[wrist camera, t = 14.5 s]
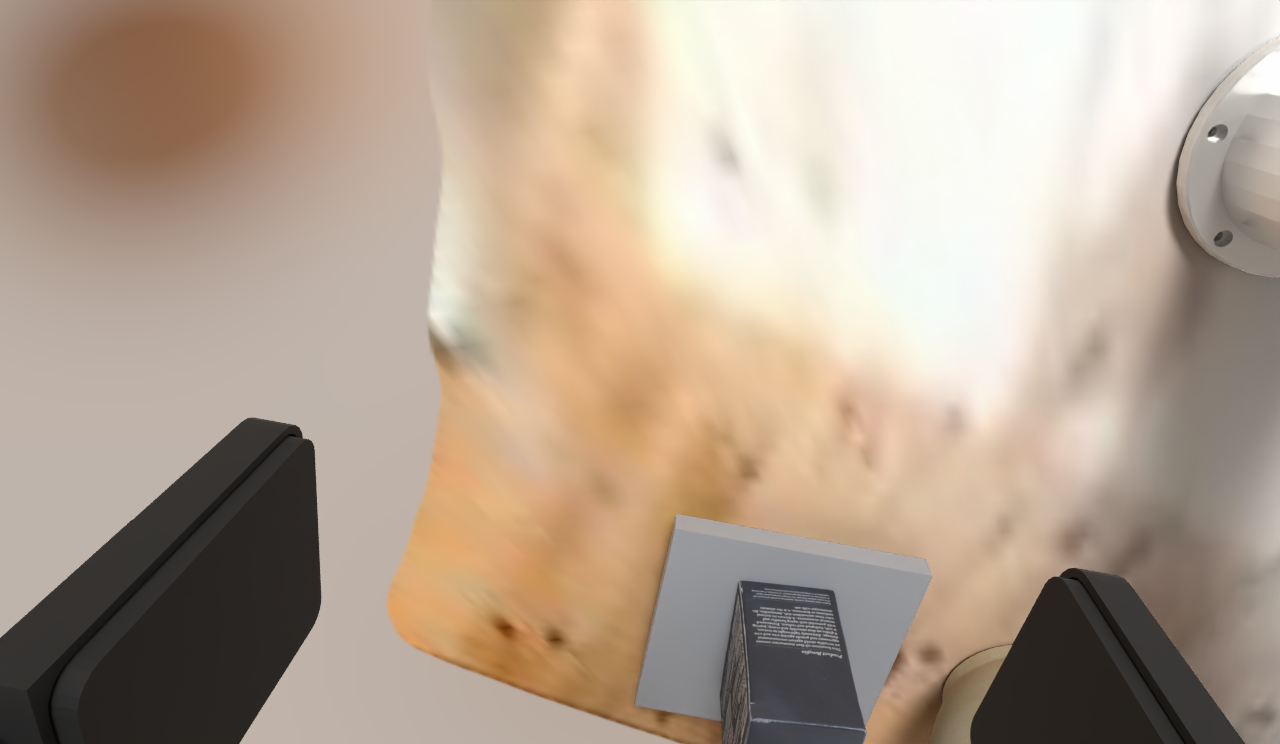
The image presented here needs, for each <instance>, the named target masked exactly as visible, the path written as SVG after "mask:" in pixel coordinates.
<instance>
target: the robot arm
mask: <svg viewBox="0 0 1280 744" xmlns="http://www.w3.org/2000/svg"><path fill="white" fill-rule="evenodd" d="M1211 128H1212V130H1211ZM1210 130H1211V132H1210V133H1209V131H1210ZM1208 133H1209V134H1208ZM1176 184H1177V196H1178V206H1179V209H1180V212H1181V215H1182V218H1183V221H1184V224H1185V226H1186V228H1187V229H1188V231H1189V232H1190V234H1191V235H1192V237H1193V239H1194V240H1195V242H1197V243H1198V244H1199V245H1200V246H1201V247H1202V248H1203V249H1204V250H1205V251H1206V252H1207V253H1208V254H1210V255H1211V256H1213V257H1215V258H1216V259H1218V260H1220V261H1222V262H1223V263H1225V264H1227V265H1229V266H1231V267H1234V268H1236V269H1239V270H1241V271H1244V272H1246V273H1249V274H1255V275H1260V276H1266V277H1280V36H1279V37H1277V38H1275V39H1273V40H1272V41H1270V42H1268V43H1266V44H1265V45H1264V46H1262V47H1261V48H1260V49H1259V50H1257V51H1256V52H1255V53H1253V54H1252V55H1251V56H1249V57H1248V58H1247V59H1246V60H1244V61H1243V62H1242V63H1240V65H1239V66H1238V67H1237V68H1236V69H1235V70H1234V71H1233V72H1232V73H1231V74H1230V75H1229V76H1228V77H1227V78H1226V79H1225V80H1224V81H1223V82H1222V83H1221V84H1220V85H1219V86H1218V87H1217V89H1216V90H1215V91H1214V93H1213V94H1212V95H1211V97H1210V98H1209V99H1208V101H1207V102H1206V103H1205V105H1204V106H1203V107H1202V109H1201V110H1200V112H1199V114H1198V116H1197V118H1196V120H1195V122H1194V124H1193V126H1192V127H1191V129H1190V131H1189V133H1188V135H1187V138H1186V141H1185V144H1184V147H1183V150H1182V153H1181V156H1180V160H1179V168H1178V175H1177V182H1176ZM316 494H317V493H316V472H315V450H314V445H313V443H312V441H310V440H307V439H303V437H302V432H301V430H300V428H299V427H297V426H296V425H291V424H286V423H280V422H275V421H269V420H264V419H258V418H247V419H246V420H244V421H243V422H241V423H240V424H239V425H238V426H237V427H236V428H235V429H233V430H232V431H231V432H230V433H229V434H228V435H227V436H226V437H224V438H223V439H222V440H221V441H220V442H219V443H218V444H217V445H216V446H214V447H213V448H212V449H211V450H210V451H209V452H208V453H207V454H205V455H204V456H203V457H202V458H201V459H200V460H199V461H198V462H197V463H195V464H194V465H193V466H192V467H191V468H190V469H189V470H188V471H187V472H186V473H184V474H183V475H182V476H181V477H180V478H179V479H178V480H177V481H175V482H174V484H172V485H171V486H170V487H169V488H168V489H167V490H165V492H163V493H162V494H161V495H160V496H159V497H158V498H157V499H155V500H154V501H153V502H152V503H151V504H150V505H149V506H148V507H146V509H144V510H143V511H142V512H141V513H140V514H139V515H138V516H136V517H135V519H133V520H131V521H130V522H129V523H128V524H127V525H126V526H125V527H124V528H122V529H121V530H120V531H119V532H118V533H117V534H116V535H115V536H114V537H112V538H111V539H110V540H109V541H108V542H107V543H106V544H105V545H103V546H102V547H101V548H100V549H99V550H98V551H97V552H96V553H95V554H93V555H92V556H91V557H90V558H89V559H88V560H87V561H86V562H85V563H83V564H82V565H81V566H80V567H79V568H78V569H77V570H76V571H74V572H73V573H72V574H71V575H70V576H69V577H68V578H67V579H66V580H65V581H63V582H62V583H61V584H60V585H59V586H58V587H57V588H56V589H55V590H53V591H52V592H51V593H50V594H49V595H48V596H47V597H45V598H44V599H43V600H42V601H41V602H40V603H39V604H38V605H37V606H35V608H34V609H32V610H31V611H30V612H29V613H28V614H27V615H25V617H23V618H22V619H21V620H20V621H19V622H18V623H17V624H15V625H14V626H13V627H12V628H11V629H10V630H9V631H8V632H7V633H6V634H4V635H3V636H2V637H1V638H0V744H239V743H240V741H241V740H242V738H243V737H244V735H245V733H246V732H247V730H248V729H249V727H250V726H251V724H252V722H253V721H254V719H255V718H256V716H257V715H258V712H259V711H260V710H261V708H262V707H263V705H264V704H265V702H266V700H267V699H268V697H269V696H270V694H271V692H272V691H273V689H274V688H275V686H276V685H277V683H278V681H279V679H280V678H281V677H282V675H283V674H284V672H285V670H286V669H287V667H288V666H289V664H290V662H291V661H292V659H293V658H294V656H295V655H296V653H297V651H298V650H299V648H300V647H301V645H302V644H303V642H304V640H305V639H306V637H307V636H308V634H309V632H310V631H311V629H312V627H313V626H314V624H315V621H316V619H317V617H318V613H319V610H320V605H321V583H320V560H319V537H318V515H317V495H316ZM970 740H971V744H1245V743H1244V742H1243V740H1242V739H1241V738H1240V736H1239V735H1238V733H1237V732H1236V731H1235V729H1234V728H1233V726H1232V725H1231V724H1230V722H1229V721H1228V720H1227V718H1226V717H1225V715H1224V714H1223V713H1222V711H1221V710H1220V708H1219V707H1218V706H1217V704H1216V703H1215V702H1214V700H1213V699H1212V697H1211V696H1210V695H1209V693H1208V692H1207V690H1206V689H1205V688H1204V686H1203V685H1202V684H1201V682H1200V681H1199V679H1198V678H1197V677H1196V675H1195V674H1194V672H1193V671H1192V670H1191V668H1190V667H1189V666H1188V664H1187V663H1186V661H1185V660H1184V659H1183V657H1182V656H1181V654H1180V653H1179V652H1178V650H1177V649H1176V648H1175V646H1174V645H1173V643H1172V642H1171V641H1170V639H1169V638H1168V636H1167V635H1166V634H1165V632H1164V631H1163V630H1162V628H1161V627H1160V625H1159V624H1158V623H1157V621H1156V620H1155V618H1154V617H1153V616H1152V614H1151V613H1150V612H1149V610H1148V609H1147V607H1146V606H1145V605H1144V603H1143V602H1142V600H1141V599H1140V598H1139V596H1138V595H1137V594H1136V592H1135V591H1134V589H1133V588H1132V587H1131V585H1130V584H1129V583H1128V582H1127V581H1126V580H1125V579H1124V578H1121V577H1119V576H1116V575H1110V574H1105V573H1099V572H1094V571H1089V570H1083V569H1078V568H1070V569H1067V570H1066V571H1064V572H1063V573H1062V574H1061V575H1060V577H1052V578H1051V579H1049V580H1048V581H1047V583H1046V584H1045V585H1044V587H1043V589H1042V591H1041V593H1040V595H1039V597H1038V598H1037V600H1036V602H1035V604H1034V606H1033V608H1032V610H1031V611H1030V613H1029V615H1028V617H1027V619H1026V621H1025V622H1024V624H1023V626H1022V628H1021V630H1020V632H1019V634H1018V635H1017V637H1016V639H1015V641H1014V643H1013V645H1012V647H1011V648H1010V650H1009V652H1008V654H1007V656H1006V658H1005V659H1004V661H1003V663H1002V665H1001V667H1000V669H999V671H998V672H997V674H996V676H995V678H994V680H993V682H992V684H991V685H990V687H989V689H988V691H987V693H986V695H985V697H984V698H983V700H982V702H981V704H980V706H979V708H978V709H977V711H976V713H975V715H974V717H973V720H972V723H971V728H970Z"/></svg>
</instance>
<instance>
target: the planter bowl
mask: <svg viewBox="0 0 1280 744" xmlns="http://www.w3.org/2000/svg"><path fill="white" fill-rule="evenodd" d="M1011 647H1012V645H1004V646H999V647H994V648H991V649H988V650H985V651H982V652H979V653H977V654H975V655H973V656H971V657H970V658H968V659H966V660H965V661H964V662H962V663H961V664H960V665H959V666H957V667H956V668H955V669H954V670H953V672H952V673H951V674H950V676H949V677H948V679H947V681H946V683H945V685H944V688H943V694H942V702H943V703H942V706H941V708H940V710H939V712H938V714H937V717H936V719H935V722H934V725H933V728H932V732H931V737H930V742H929V744H971V740H970V728H971V723H972V720H973V717H974V715H975V713H976V711H977V709H978V708H979V706H980V704H981V702H982V700H983V698H984V697H985V695H986V693H987V691H988V689H989V687H990V685H991V684H992V682H993V680H994V678H995V676H996V674H997V672H998V671H999V669H1000V667H1001V665H1002V663H1003V661H1004V659H1005V658H1006V656H1007V654H1008V652H1009V650H1010V648H1011Z"/></svg>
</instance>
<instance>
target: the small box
mask: <svg viewBox="0 0 1280 744" xmlns="http://www.w3.org/2000/svg"><path fill="white" fill-rule="evenodd" d="M720 705H721V724H722V740H723V744H863V743H864V740H865V736H866V733H867V731H866V728H865V724H864V719H863V715H862V711H861V707H860V702H859V698H858V694H857V689H856V685H855V681H854V676H853V672H852V668H851V663H850V659H849V655H848V650H847V645H846V641H845V637H844V632H843V628H842V623H841V619H840V614H839V610H838V605H837V601H836V597H835V593H834V591H833V590H827V589H818V588H809V587H800V586H791V585H782V584H772V583H762V582H754V581H740V582H739V583H738V589H737V594H736V599H735V605H734V611H733V617H732V621H731V629H730V635H729V641H728V647H727V652H726V658H725V664H724V669H723V676H722V684H721V691H720Z"/></svg>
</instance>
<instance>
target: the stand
mask: <svg viewBox="0 0 1280 744" xmlns="http://www.w3.org/2000/svg"><path fill="white" fill-rule="evenodd" d="M931 578H932V573H931V571H930V568H929V566H928V563H927V560H926V559H921V558H915V557H910V556H904V555H899V554H893V553H888V552H882V551H877V550H872V549H866V548H861V547H855V546H850V545H844V544H839V543H833V542H828V541H822V540H817V539H812V538H806V537H801V536H795V535H790V534H784V533H779V532H773V531H768V530H762V529H757V528H751V527H746V526H741V525H735V524H730V523H724V522H719V521H713V520H708V519H702V518H697V517H691V516H686V515H680V514H676V517H675V521H674V526H673V530H672V534H671V539H670V543H669V548H668V552H667V556H666V561H665V565H664V569H663V574H662V578H661V583H660V587H659V591H658V596H657V600H656V604H655V609H654V613H653V617H652V622H651V626H650V631H649V635H648V639H647V644H646V648H645V652H644V657H643V661H642V665H641V670H640V674H639V679H638V683H637V687H636V696H635V706H640V707H646V708H651V709H657V710H662V711H668V712H673V713H679V714H684V715H689V716H695V717H700V718H706V719H711V720H717V721H721V705H720V691H721V684H722V676H723V669H724V664H725V658H726V652H727V647H728V641H729V635H730V629H731V621H732V617H733V611H734V605H735V599H736V594H737V589H738V583H739V582H740V581H754V582H762V583H772V584H782V585H791V586H800V587H809V588H818V589H827V590H833V591H834V593H835V597H836V601H837V605H838V610H839V614H840V619H841V623H842V628H843V632H844V637H845V641H846V645H847V650H848V655H849V659H850V663H851V668H852V672H853V676H854V681H855V685H856V689H857V694H858V698H859V702H860V707H861V711H862V715H863V719H864V724H865V726H866V724H867V722H868V719H869V717H870V715H871V713H872V710H873V708H874V706H875V704H876V701H877V699H878V697H879V695H880V692H881V690H882V688H883V686H884V683H885V681H886V679H887V677H888V674H889V672H890V670H891V668H892V665H893V663H894V661H895V659H896V657H897V654H898V652H899V650H900V648H901V645H902V643H903V641H904V639H905V636H906V634H907V632H908V630H909V627H910V625H911V623H912V621H913V618H914V616H915V614H916V612H917V609H918V607H919V605H920V603H921V600H922V598H923V596H924V594H925V592H926V589H927V587H928V585H929V583H930V580H931Z"/></svg>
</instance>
